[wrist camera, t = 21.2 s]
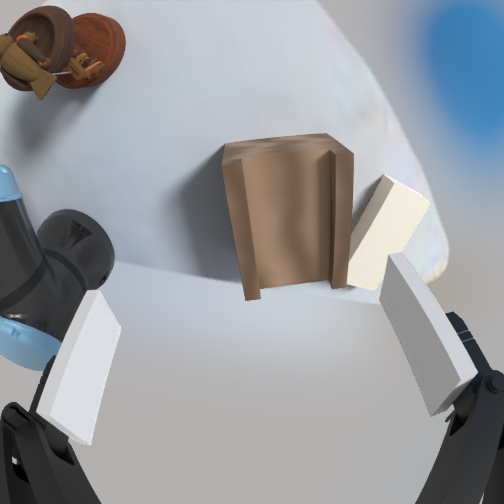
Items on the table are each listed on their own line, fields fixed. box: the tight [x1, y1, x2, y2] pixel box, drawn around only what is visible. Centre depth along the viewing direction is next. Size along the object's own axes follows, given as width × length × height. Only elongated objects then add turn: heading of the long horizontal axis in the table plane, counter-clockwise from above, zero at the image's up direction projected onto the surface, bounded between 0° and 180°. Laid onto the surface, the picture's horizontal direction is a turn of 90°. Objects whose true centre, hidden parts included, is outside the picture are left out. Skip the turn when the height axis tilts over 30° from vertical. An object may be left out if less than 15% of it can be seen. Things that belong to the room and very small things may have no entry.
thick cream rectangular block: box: [347, 174, 431, 291], centre depth 44 cm, size 8×18×4 cm, turn 160°
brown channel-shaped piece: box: [221, 133, 354, 301], centre depth 37 cm, size 14×18×10 cm
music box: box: [0, 6, 126, 100], centre depth 19 cm, size 15×11×20 cm
